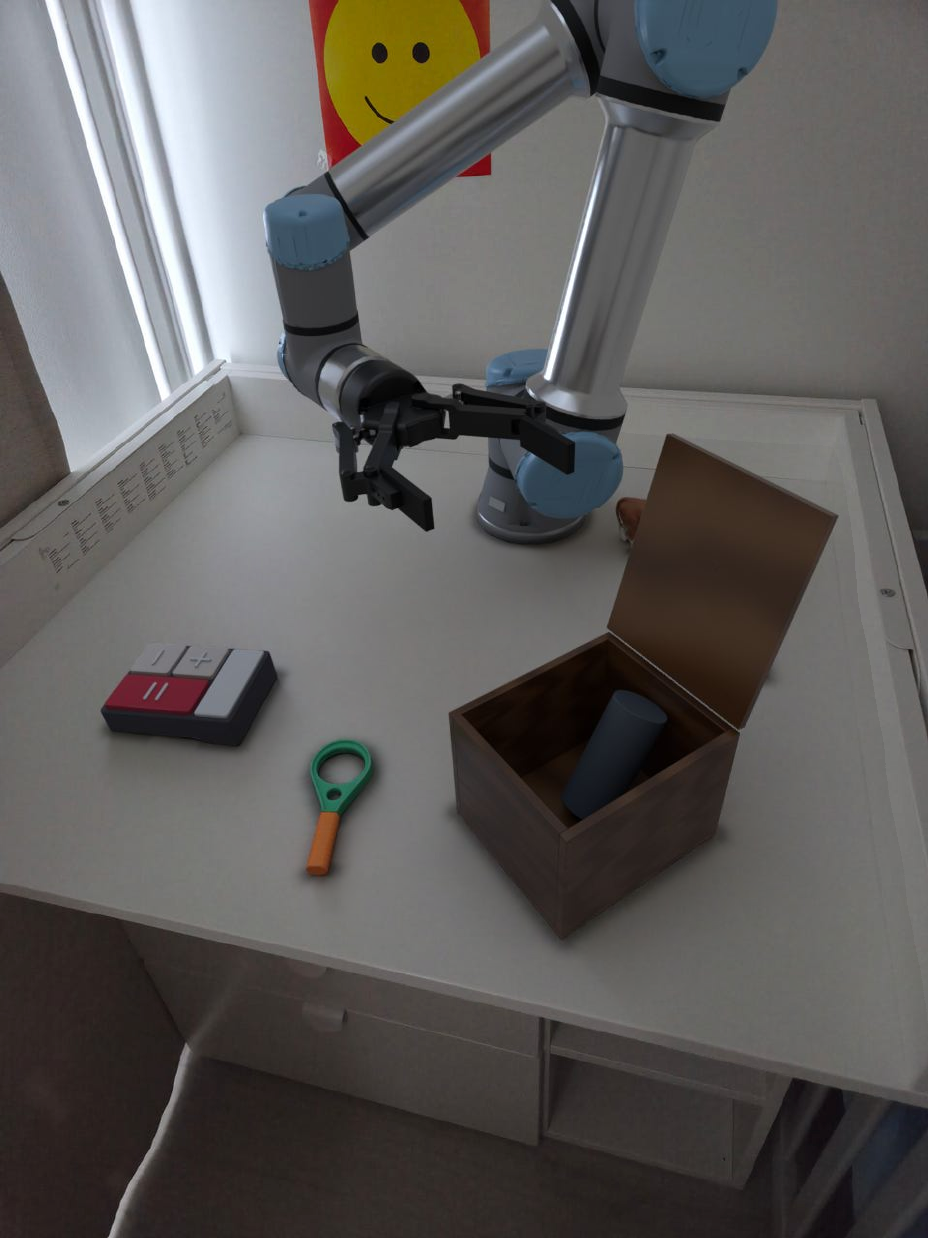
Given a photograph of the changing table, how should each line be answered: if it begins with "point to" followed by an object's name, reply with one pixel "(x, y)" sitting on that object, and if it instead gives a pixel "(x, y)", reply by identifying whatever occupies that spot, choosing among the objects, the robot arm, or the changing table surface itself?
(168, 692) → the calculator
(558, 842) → the chest
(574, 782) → the canister
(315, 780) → the magnifying glass
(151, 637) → the changing table surface
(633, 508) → the bull figurine
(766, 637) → the chest lid
